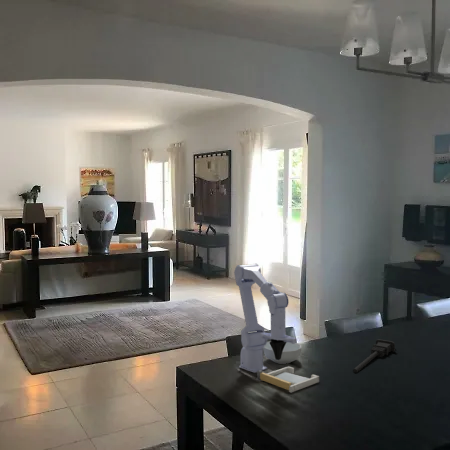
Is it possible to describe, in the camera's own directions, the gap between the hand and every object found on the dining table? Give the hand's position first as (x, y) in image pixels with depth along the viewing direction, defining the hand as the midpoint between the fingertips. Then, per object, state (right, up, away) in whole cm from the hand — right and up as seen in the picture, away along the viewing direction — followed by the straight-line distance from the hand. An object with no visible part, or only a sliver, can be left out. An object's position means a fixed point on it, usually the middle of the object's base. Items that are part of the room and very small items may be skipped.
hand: (278, 359), depth 199 cm
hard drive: (+6, -10, +3) cm, 12 cm away
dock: (+3, -9, +3) cm, 10 cm away
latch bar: (-2, -9, -1) cm, 9 cm away
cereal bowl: (+5, -8, +27) cm, 28 cm away
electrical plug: (+45, -8, +28) cm, 54 cm away
